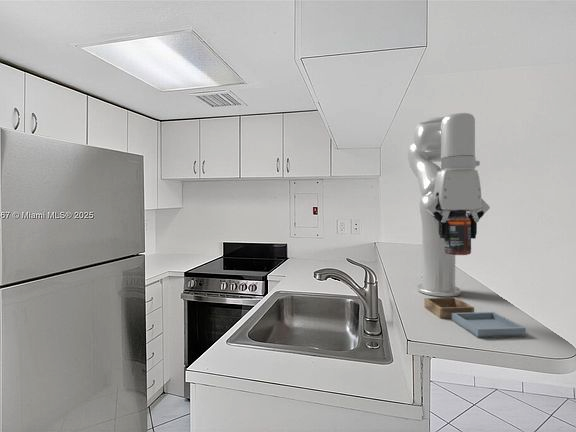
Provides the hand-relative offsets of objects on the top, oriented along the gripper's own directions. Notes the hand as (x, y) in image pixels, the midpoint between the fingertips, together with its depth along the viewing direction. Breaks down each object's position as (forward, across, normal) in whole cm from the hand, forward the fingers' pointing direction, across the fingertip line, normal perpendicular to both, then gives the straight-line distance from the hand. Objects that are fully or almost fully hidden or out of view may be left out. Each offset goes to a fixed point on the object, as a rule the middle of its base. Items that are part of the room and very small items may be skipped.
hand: (457, 237), depth 82 cm
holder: (+20, 0, -4) cm, 20 cm away
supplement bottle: (+4, 0, 0) cm, 4 cm away
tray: (+20, -3, +7) cm, 21 cm away
